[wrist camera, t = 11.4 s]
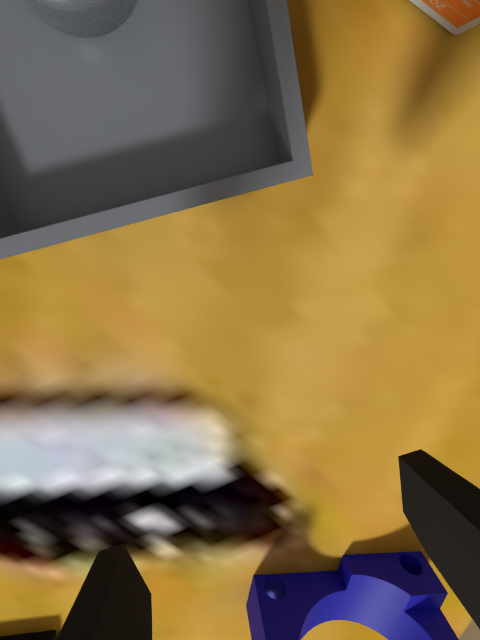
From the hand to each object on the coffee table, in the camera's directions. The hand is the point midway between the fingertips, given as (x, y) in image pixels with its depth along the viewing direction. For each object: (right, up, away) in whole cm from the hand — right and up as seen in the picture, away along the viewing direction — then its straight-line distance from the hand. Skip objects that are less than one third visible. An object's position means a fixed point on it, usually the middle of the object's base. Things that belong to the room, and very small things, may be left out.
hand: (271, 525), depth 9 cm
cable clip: (+6, -13, +17) cm, 22 cm away
